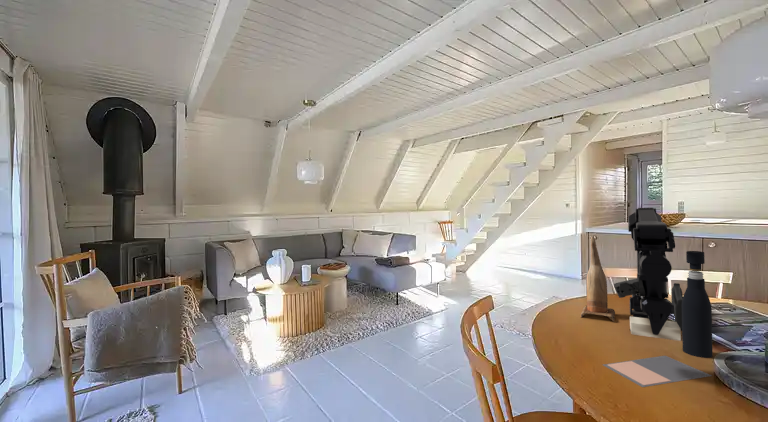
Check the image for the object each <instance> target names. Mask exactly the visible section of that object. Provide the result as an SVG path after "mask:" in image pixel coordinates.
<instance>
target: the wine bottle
mask: <svg viewBox="0 0 768 422" xmlns="http://www.w3.org/2000/svg"><path fill="white" fill-rule="evenodd" d="M685 253H686V254H685V255H686V263H687V264H689V269H688V270H689V271H688V273H687V274H688V275H687V278H686V280H687V281H686V282H687V283H686V285H687V287H686V289H685V291H684V294H683V300H682V329H681V332H682V333H681V335H682V336H681V341H682V342H681V343H682V352H683V353H685V354H687V355H689V356H693V357H695V358H701V359H708V358H712V357H713V313H712V312H713V311H712V310H713V309H712V304H711V300H710V297H709V295H708V293H707V290H706V284H705V283H706V279H705V278H704V272H702V271H703V270H702V265H704V264H705V263H706V262H705V261H706V260H705V252H704V251H700V250H699V251H698V250H687V251H686V252H685Z"/></svg>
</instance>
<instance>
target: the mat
mask: <svg viewBox="0 0 768 422" xmlns="http://www.w3.org/2000/svg"><path fill="white" fill-rule="evenodd" d="M602 366H604V367H606V368H607V369H609V370H610V371H613V372H614V373H616V374H618V375H619V376H622V377H623V378H624V379H626V380H629V381H630V382H632V383H633V384H635V385H637V386H639V387H641V388H646V387H653V386H658V385H663V384H669V383H676V382H683V381H688V380H689V381H690V380H696V379H701V378H707V377H712V376H713V375H712V374H709V373H707V372H705V371H703V370H700V369H698V368H695V367H692V366H690V365H689V364H686V363H684V362H682V361H680V360H677V359H674V358H672V357H670V356H667V355H660V356H652V357H646V358H639V359H631V360H625V361H619V362H618V361H617V362H611V363H605V364H602Z"/></svg>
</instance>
